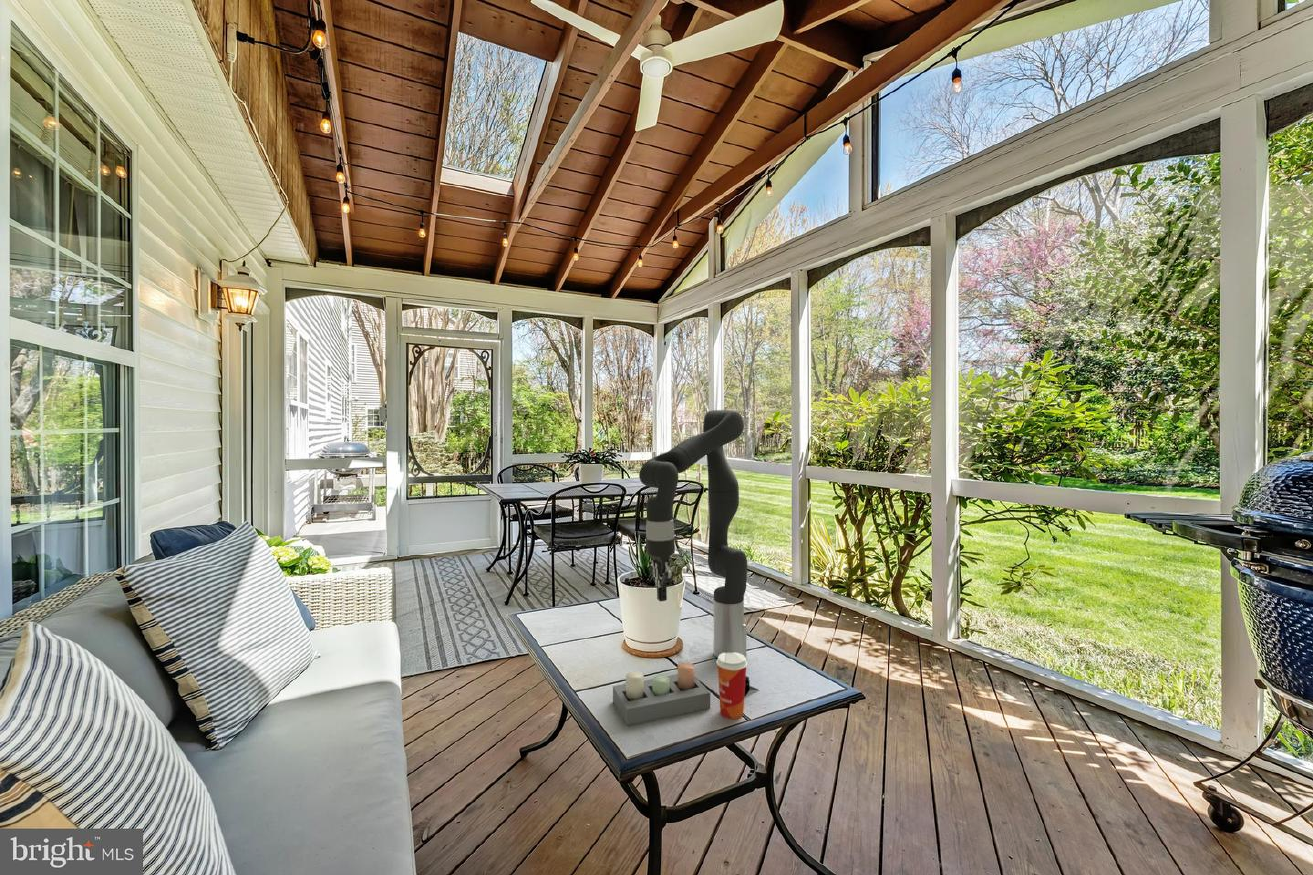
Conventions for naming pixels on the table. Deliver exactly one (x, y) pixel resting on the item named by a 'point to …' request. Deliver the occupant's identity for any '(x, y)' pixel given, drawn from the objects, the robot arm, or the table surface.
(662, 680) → the sage button
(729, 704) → the paper cup
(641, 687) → the cream button
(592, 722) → the table surface
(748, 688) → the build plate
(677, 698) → the button board
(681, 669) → the terracotta button
